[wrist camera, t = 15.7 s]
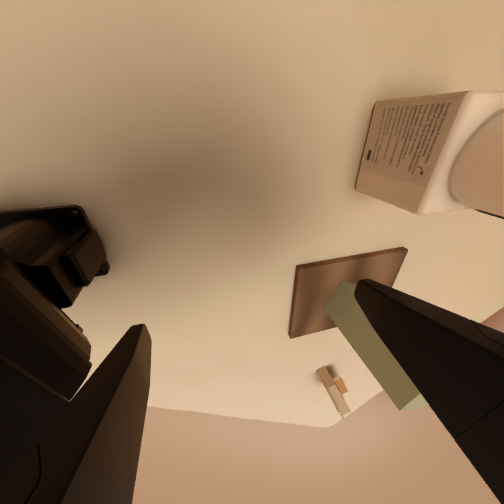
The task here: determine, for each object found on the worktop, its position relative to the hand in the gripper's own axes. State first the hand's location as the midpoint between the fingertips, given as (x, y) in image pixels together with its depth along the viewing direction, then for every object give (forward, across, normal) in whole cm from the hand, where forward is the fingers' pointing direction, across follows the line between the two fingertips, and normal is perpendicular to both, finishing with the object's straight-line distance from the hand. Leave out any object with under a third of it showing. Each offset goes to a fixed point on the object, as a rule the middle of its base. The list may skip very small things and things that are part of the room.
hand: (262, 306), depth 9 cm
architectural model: (+14, -18, +37) cm, 43 cm away
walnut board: (+13, -16, +15) cm, 26 cm away
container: (+13, -18, -4) cm, 23 cm away
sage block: (+12, -16, +15) cm, 25 cm away
